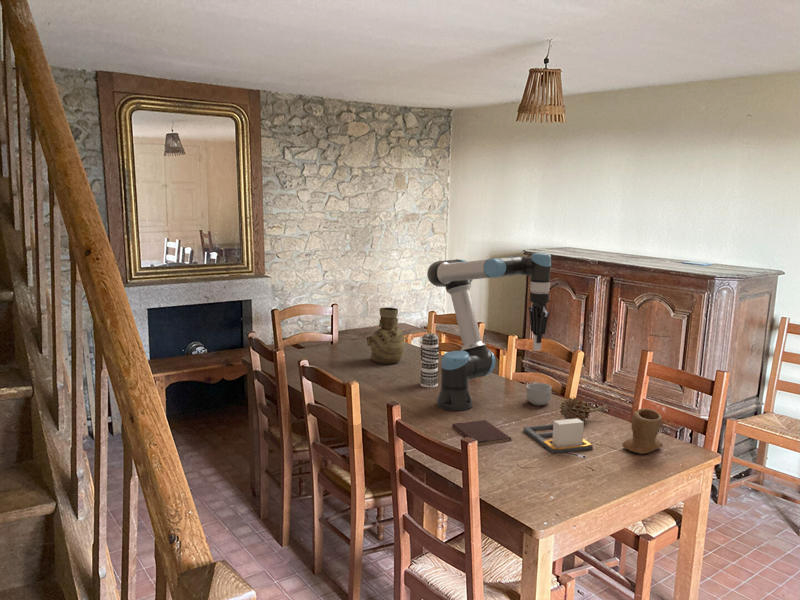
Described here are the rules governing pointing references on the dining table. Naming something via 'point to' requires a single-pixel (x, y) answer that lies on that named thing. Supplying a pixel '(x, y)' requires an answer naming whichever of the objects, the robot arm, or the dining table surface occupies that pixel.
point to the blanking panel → (567, 433)
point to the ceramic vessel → (387, 338)
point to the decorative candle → (429, 360)
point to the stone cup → (644, 432)
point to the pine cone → (577, 409)
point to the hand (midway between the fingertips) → (536, 350)
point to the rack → (548, 443)
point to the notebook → (481, 432)
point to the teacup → (538, 393)
